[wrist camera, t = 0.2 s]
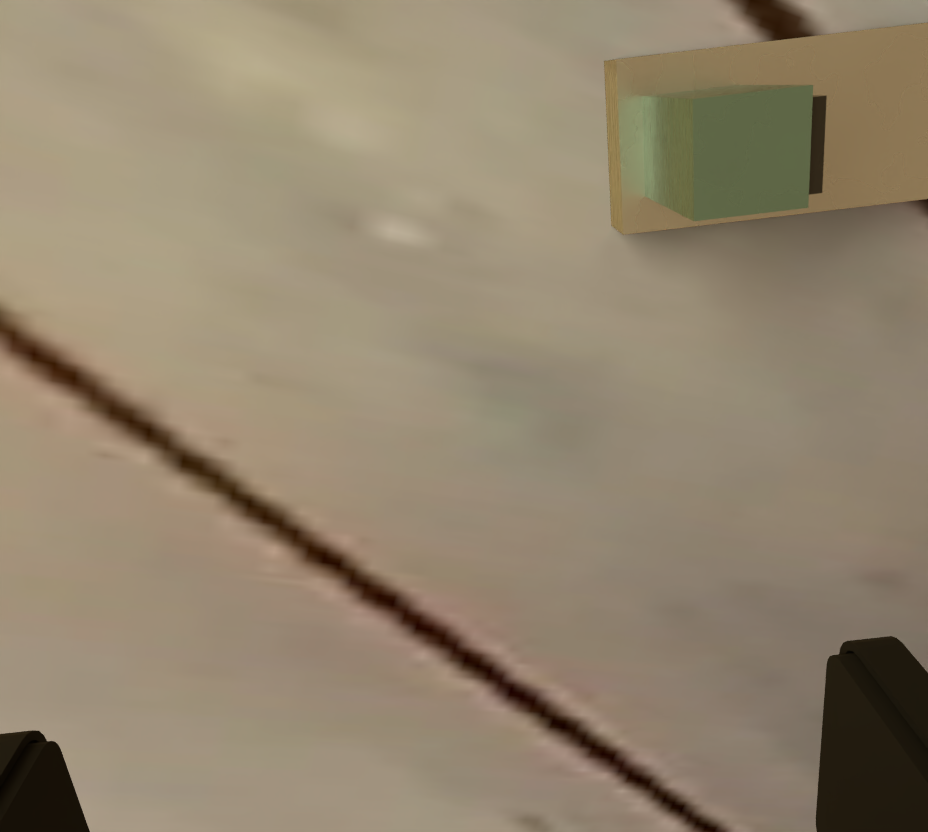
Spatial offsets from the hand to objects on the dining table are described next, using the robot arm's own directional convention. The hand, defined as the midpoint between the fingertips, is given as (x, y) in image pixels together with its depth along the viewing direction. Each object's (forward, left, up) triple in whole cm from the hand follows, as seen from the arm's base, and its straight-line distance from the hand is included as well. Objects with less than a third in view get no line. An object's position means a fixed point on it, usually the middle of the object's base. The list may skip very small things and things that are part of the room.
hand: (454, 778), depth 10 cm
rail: (-4, +21, -31) cm, 38 cm away
